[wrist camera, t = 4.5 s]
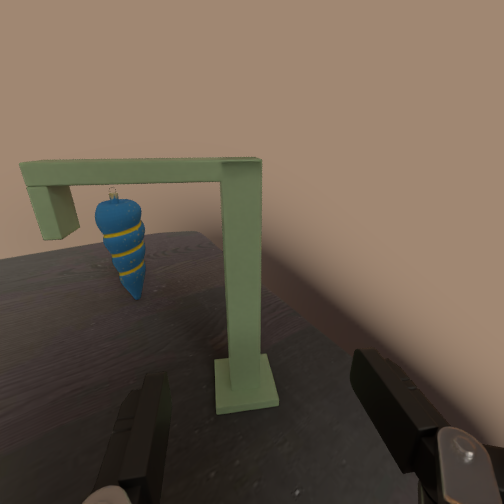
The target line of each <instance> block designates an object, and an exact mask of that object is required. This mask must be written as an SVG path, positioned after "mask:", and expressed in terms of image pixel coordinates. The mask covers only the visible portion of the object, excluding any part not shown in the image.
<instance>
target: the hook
mask: <svg viewBox="0 0 504 504" xmlns="http://www.w3.org/2000/svg"><path fill="white" fill-rule="evenodd" d="M19 166H20V169H21V172H22V175H23V178H24V181H25V184H26V186H28V187H27V191H28V194H29V197H30V200H31V204H32V206H33V210H34V213H35V216H36V219H37V221H38V224H39V228H40V231H41V234H42V237H43V240H61V239H63V238H65V237H66V236H68V235H69V234H70V233H72V232H74V231H75V230H77V229H78V228H80V225H79V221H78V218H77V213H76V210H75V206H74V202H73V198H72V195H71V191H70V187H69V186H71V185H109V184H146V183H147V184H148V183H184V182H185V183H186V182H220V193H221V214H222V231H223V233H222V234H223V254H224V273H225V293H226V313H227V333H228V352H229V358H225V359H217V360H215V393H216V414H217V415H220V414H227V413H234V412H240V411H247V410H254V409H261V408H268V407H274V406H279V397H278V394H277V390H276V386H275V383H274V379H273V375H272V372H271V368H270V365H269V361H268V357H267V354H260V336H261V227H262V226H261V225H262V215H261V214H262V159H259V158H256V157H223V158H221V157H220V158H219V157H218V158H146V159H77V160H76V159H75V160H74V159H73V160H40V161H31V162H23V163H19Z"/></svg>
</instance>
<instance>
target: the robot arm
mask: <svg viewBox="0 0 504 504" xmlns="http://www.w3.org/2000/svg"><path fill="white" fill-rule="evenodd" d="M350 382H351V385H352V388H353V390H354V392H355V394H356V395H357V397H358V399H359V400H360V402H361V404H362V405H363V407H364V409H365V411H366V412H367V414H368V416H369V417H370V419H371V421H372V422H373V424H374V426H375V427H376V429H377V431H378V433H379V434H380V436H381V438H382V439H383V441H384V443H385V444H386V446H387V448H388V450H389V451H390V453H391V455H392V456H393V458H394V460H395V461H396V463H397V465H398V467H399V468H400V470H401V472H402V473H403V474H405V473H410V472H415V473H416V475H417V477H418V478H419V481H418V504H504V448H501V447H496V446H490V445H484V444H481V443H480V442H479V441H478V440H477V439H475V438H474V437H473V436H472V435H470V434H468V433H467V432H465V431H463V430H461V429H458V428H455V427H451V426H450V425H449V423H448V422H447V421H446V420H445V419H444V418H443V416H442V415H441V414H440V413H439V412H438V411H437V409H436V408H435V407H434V406H433V405H432V404H431V403H430V401H429V400H428V399H427V398H426V397H425V396H424V394H423V393H422V392H421V391H420V390H419V389H417V386H416V385H415V384H414V383H413V382H412V380H410V379H409V377H408V376H407V375H406V373H405V372H404V371H403V370H402V369H401V367H399V366H398V365H397V364H395V363H393V362H392V361H391V360H389V359H384V358H383V357H382V356H381V355H380V353H379V352H378V351H377V350H376V349H375V348H373V347H370V348H362V349H356V350H355V351H354V356H353V361H352V366H351V371H350ZM171 410H172V402H171V394H170V388H169V382H168V376H167V372H166V371H165V372H157V373H149V374H146V376H145V379H144V383H143V387H142V389H139V390H131V392H130V393H129V394H128V396H127V397H126V398H125V400H124V401H123V402H122V404H121V407H120V410H119V413H118V416H117V421H116V422H115V425H114V428H113V434H112V435H111V438H110V441H109V444H108V447H107V450H106V453H105V456H104V459H103V462H102V465H101V468H100V471H99V474H98V478H97V481H96V483H95V486H94V488H93V490H92V492H91V494H90V495H89V497H88V498H87V499H86V500H85V501H84V502H83V503H82V504H160V497H161V489H162V481H163V474H164V466H165V458H166V451H167V443H168V436H169V428H170V420H171Z"/></svg>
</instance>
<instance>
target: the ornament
mask: <svg viewBox="0 0 504 504" xmlns="http://www.w3.org/2000/svg"><path fill="white" fill-rule="evenodd" d="M109 198H110V200H109V201H104V202H101V203H99V204H98V206H97V208H96V212H95V221H96V224H97V226H98V228H99V229H100V231H101V232H102V233H103V235H104V237H103V242H104V245H105V247H106V248H107V249H108V251H109V252H110V253H111V254H112V262H113V264H114V266H115V268H116V269H117V271H118V272H119V278H120V281H121V283H122V284H123V286H124V287H125V288H126V289H127V290H128V291H129V292H130V294H131V295H132V296H133V297H134V299H136V300H138V299H140V298H141V294H142V288H143V282H144V277H145V268H146V267H145V262H144V255H145V243H144V241H143V238H144V233H145V227H144V224H143V222H142V221H141V220H140V219H141V208H140V206H139V205H138V204H137V203H136V202H134V201H132V200H128V199H118V193H109Z"/></svg>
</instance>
